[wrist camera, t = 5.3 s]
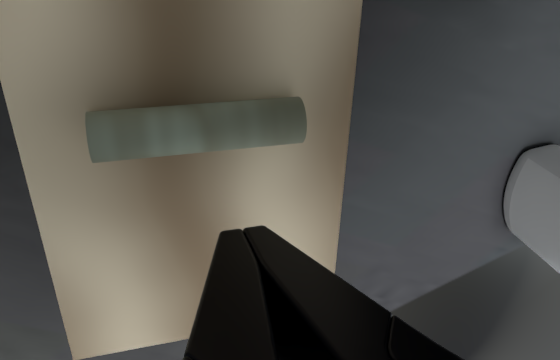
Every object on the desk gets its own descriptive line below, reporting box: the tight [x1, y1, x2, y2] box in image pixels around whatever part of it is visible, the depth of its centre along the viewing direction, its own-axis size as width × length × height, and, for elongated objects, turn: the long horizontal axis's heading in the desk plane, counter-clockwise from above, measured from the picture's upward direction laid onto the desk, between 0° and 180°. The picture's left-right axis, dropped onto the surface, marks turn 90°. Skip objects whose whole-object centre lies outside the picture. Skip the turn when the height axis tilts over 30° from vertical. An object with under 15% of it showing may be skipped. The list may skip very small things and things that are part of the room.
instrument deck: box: [0, 0, 363, 360], centre depth 14 cm, size 10×22×3 cm, turn 178°
